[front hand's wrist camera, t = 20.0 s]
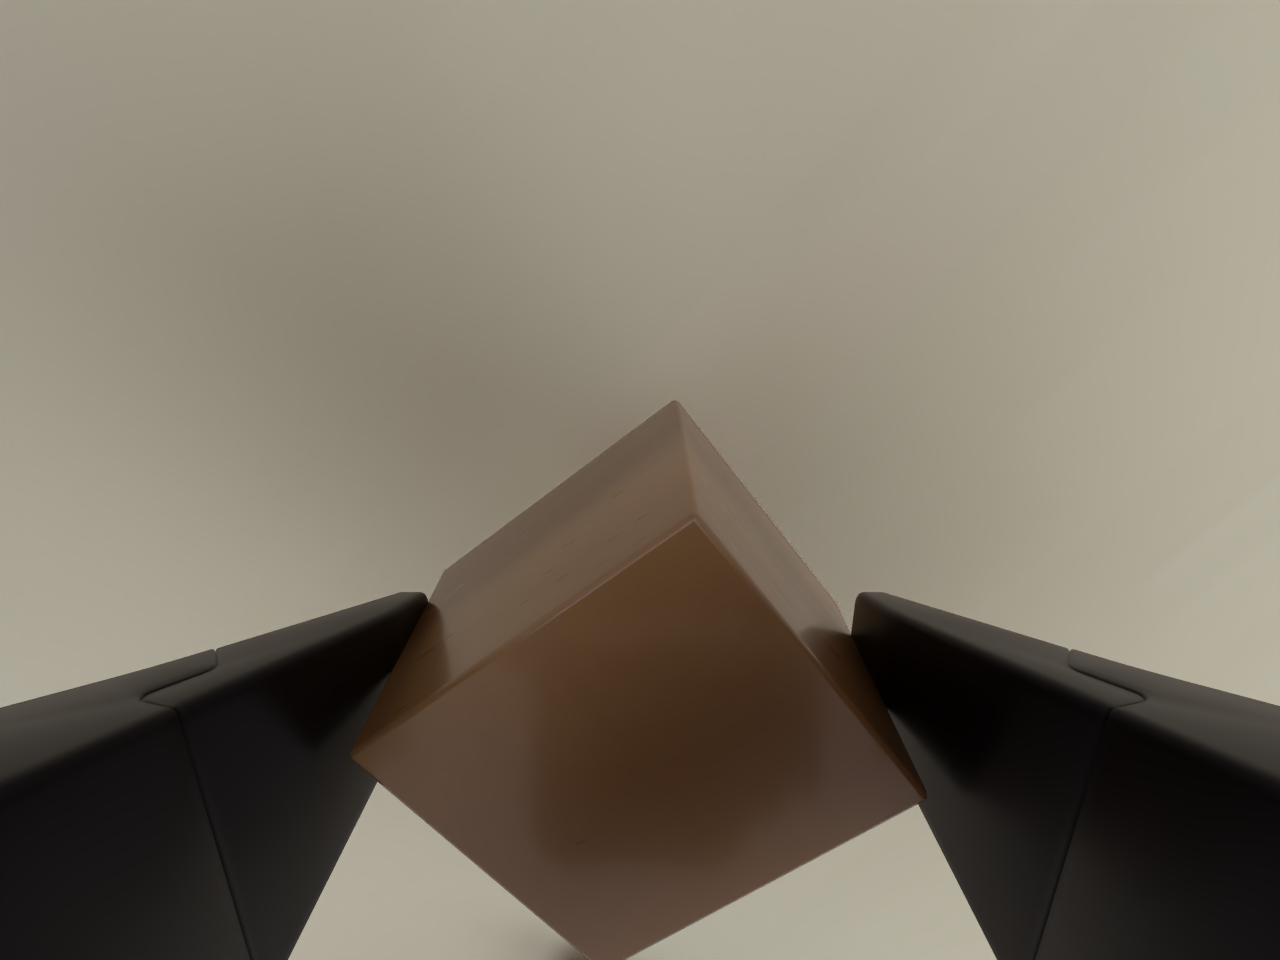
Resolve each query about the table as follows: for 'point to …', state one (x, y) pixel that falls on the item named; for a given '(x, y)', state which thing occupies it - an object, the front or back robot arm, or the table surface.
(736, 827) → the block
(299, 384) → the table surface
